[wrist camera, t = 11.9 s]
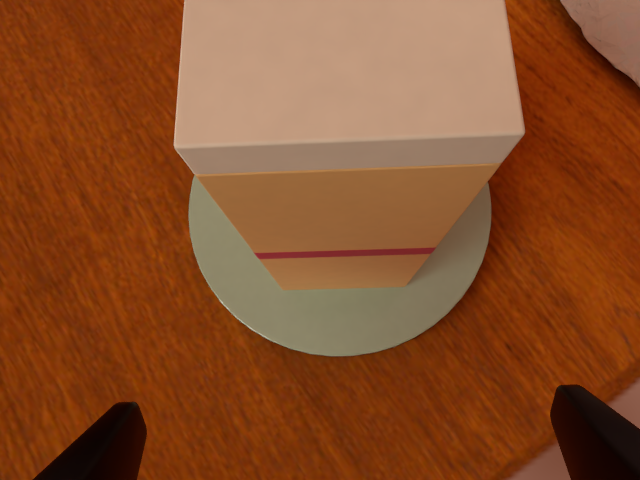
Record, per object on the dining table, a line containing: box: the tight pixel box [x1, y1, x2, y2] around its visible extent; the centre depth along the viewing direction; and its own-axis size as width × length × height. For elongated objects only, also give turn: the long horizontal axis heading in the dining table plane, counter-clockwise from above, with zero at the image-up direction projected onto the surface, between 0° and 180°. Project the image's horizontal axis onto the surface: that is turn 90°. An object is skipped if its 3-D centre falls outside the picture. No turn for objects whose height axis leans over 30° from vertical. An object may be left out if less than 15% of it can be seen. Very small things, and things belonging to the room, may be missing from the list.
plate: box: [189, 175, 491, 357], centre depth 20 cm, size 13×13×1 cm
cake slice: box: [174, 0, 525, 290], centre depth 13 cm, size 7×5×13 cm
